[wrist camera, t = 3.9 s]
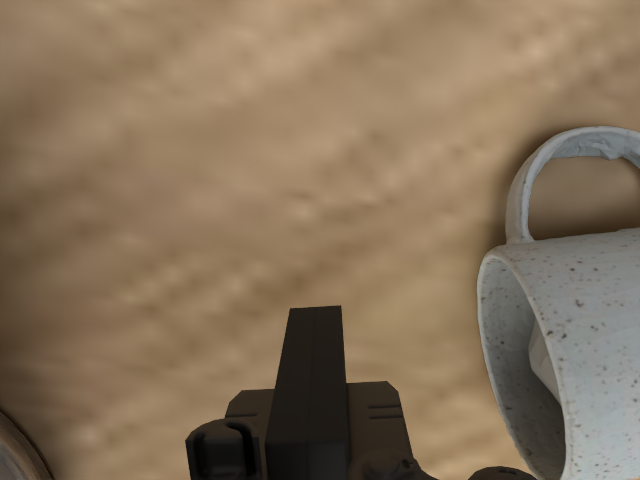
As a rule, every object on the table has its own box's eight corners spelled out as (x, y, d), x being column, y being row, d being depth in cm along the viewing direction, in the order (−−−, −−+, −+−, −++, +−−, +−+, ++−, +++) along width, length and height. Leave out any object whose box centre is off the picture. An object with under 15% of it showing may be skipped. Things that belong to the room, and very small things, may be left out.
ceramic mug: (693, 372, 22) (880, 507, 15) (488, 407, 23) (568, 555, 15) (679, 104, 20) (896, 101, 12) (451, 149, 20) (524, 173, 13)
